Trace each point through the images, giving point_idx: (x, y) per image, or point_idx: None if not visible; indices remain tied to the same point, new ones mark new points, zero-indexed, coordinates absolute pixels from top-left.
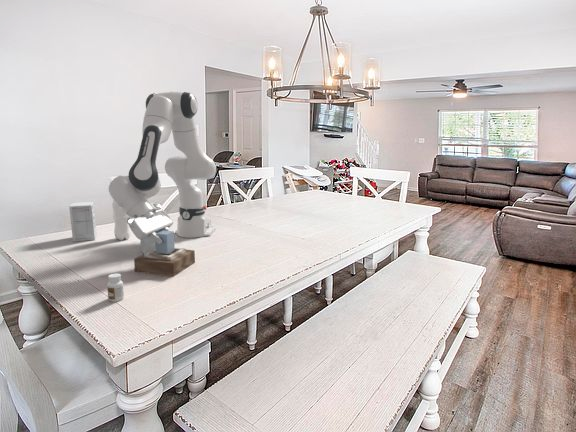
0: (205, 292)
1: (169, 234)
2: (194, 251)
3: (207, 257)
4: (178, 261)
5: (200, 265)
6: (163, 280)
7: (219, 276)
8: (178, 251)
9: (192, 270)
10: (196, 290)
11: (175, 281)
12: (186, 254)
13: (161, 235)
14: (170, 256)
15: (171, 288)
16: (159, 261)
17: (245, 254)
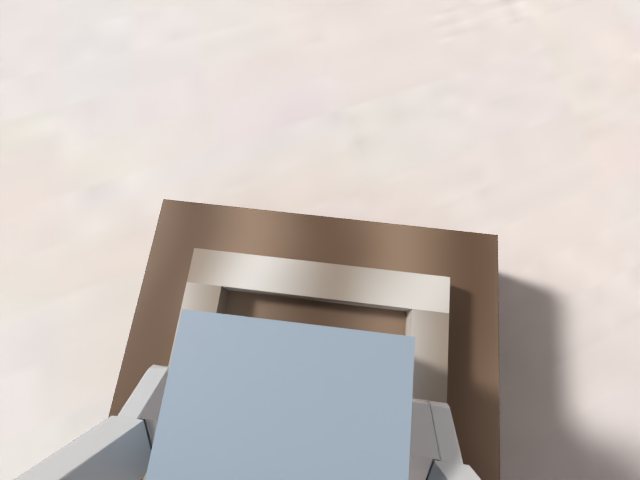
0: (599, 42)
1: (330, 327)
2: (169, 202)
3: (94, 188)
4: (418, 230)
5: (248, 180)
6: (536, 293)
7: (393, 41)
8: (283, 276)
9: (339, 194)
10: (595, 83)
11: (526, 220)
12: (275, 221)
13: (406, 448)
14: (432, 286)
15: (622, 202)
16: (496, 361)
17: (34, 11)
